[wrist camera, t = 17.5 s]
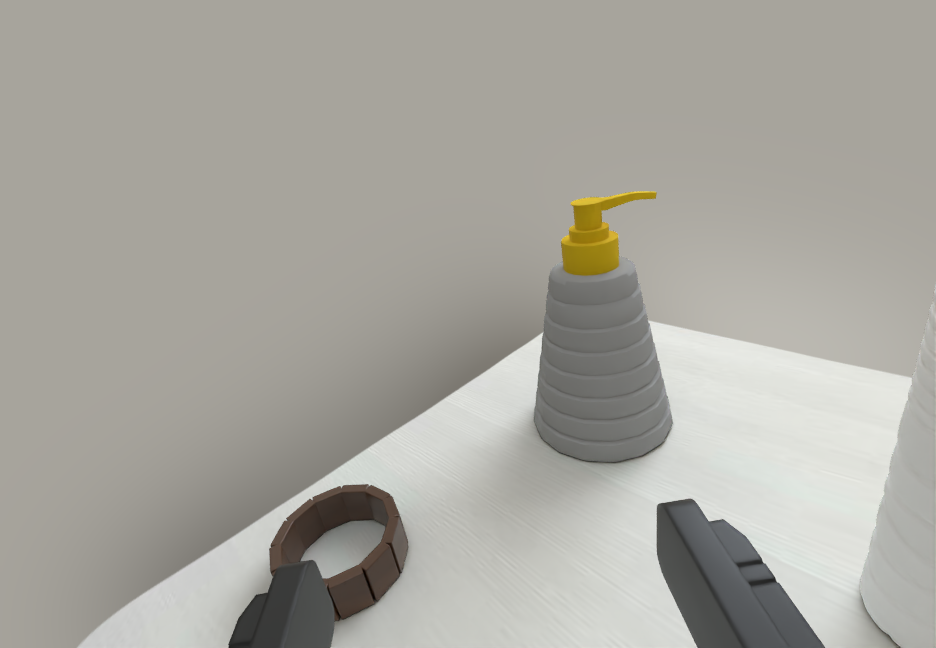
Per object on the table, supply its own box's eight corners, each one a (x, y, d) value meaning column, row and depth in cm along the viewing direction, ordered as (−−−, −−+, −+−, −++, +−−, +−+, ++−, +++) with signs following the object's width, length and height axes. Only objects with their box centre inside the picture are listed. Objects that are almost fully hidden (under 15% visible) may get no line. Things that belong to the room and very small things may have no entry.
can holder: (260, 620, 32) (243, 590, 31) (314, 514, 40) (303, 486, 39) (388, 621, 31) (377, 589, 29) (418, 510, 39) (410, 482, 37)
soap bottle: (694, 456, 39) (703, 203, 30) (538, 470, 40) (506, 232, 32) (650, 375, 50) (648, 174, 42) (530, 388, 52) (505, 197, 43)
